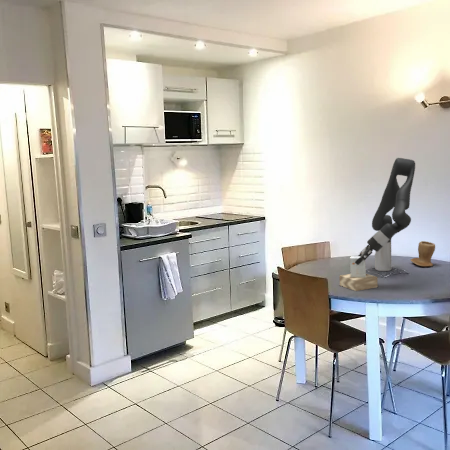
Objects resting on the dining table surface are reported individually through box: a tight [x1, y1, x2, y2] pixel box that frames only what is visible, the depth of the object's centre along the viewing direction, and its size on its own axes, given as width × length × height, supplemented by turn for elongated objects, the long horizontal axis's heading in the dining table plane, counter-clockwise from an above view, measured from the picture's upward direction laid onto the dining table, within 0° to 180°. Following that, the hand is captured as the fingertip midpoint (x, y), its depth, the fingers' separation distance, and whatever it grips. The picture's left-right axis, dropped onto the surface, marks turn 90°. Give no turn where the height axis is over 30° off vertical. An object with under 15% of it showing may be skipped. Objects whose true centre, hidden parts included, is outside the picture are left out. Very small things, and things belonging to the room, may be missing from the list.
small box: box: [349, 255, 367, 277], centre depth 271 cm, size 8×6×10 cm
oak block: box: [338, 273, 378, 292], centre depth 272 cm, size 14×14×6 cm
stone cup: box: [410, 240, 436, 267], centre depth 314 cm, size 15×12×15 cm
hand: (356, 262), depth 271 cm, fingers open, 8 cm apart
